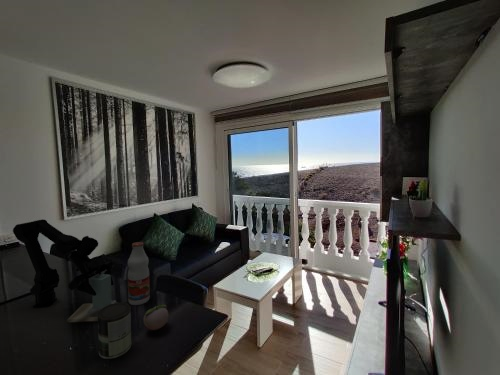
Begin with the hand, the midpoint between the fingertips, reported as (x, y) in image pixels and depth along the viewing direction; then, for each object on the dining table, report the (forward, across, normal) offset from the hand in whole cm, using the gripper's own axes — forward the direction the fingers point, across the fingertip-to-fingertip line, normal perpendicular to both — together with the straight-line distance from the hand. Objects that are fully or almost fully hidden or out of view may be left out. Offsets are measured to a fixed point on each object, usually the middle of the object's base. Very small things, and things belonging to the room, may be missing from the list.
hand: (104, 289), depth 107 cm
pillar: (+4, 0, +6) cm, 7 cm away
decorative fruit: (+27, -3, -12) cm, 30 cm away
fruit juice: (+12, +14, +3) cm, 19 cm away
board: (+4, 0, +12) cm, 12 cm away
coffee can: (+22, -16, -6) cm, 27 cm away
